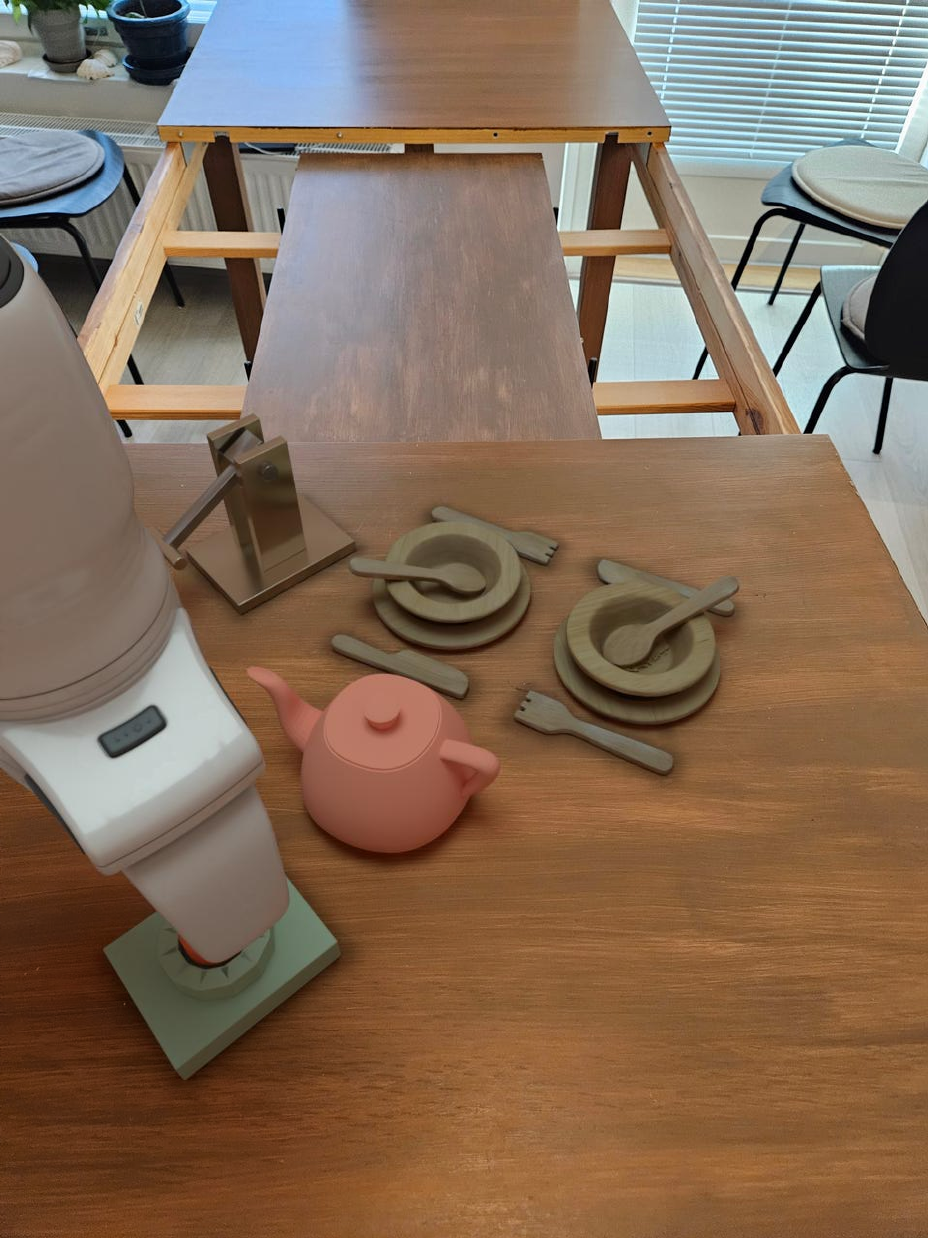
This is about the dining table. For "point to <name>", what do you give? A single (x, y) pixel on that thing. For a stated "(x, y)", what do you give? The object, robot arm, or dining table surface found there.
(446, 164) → the dining table surface
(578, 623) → the tableware set
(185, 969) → the button box
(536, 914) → the dining table surface
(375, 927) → the dining table surface
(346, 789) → the teapot
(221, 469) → the metal lever stand
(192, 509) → the lever
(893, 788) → the dining table surface
